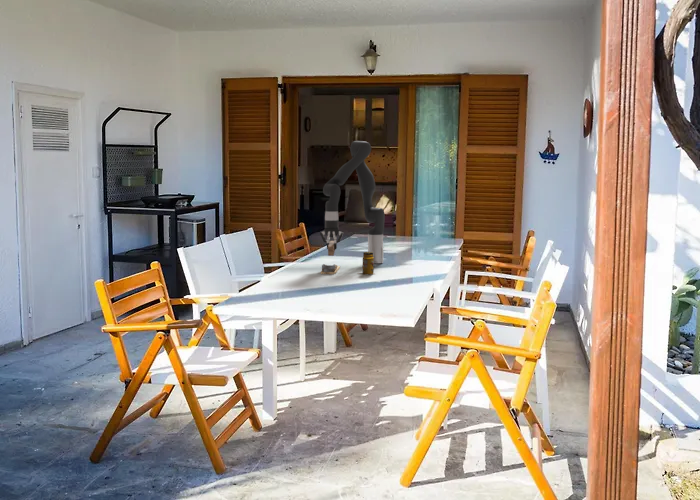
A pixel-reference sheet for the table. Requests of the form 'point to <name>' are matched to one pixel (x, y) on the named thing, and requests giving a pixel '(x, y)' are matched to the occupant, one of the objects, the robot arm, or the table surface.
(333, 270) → the guide board
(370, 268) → the condiment
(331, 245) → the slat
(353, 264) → the table surface
